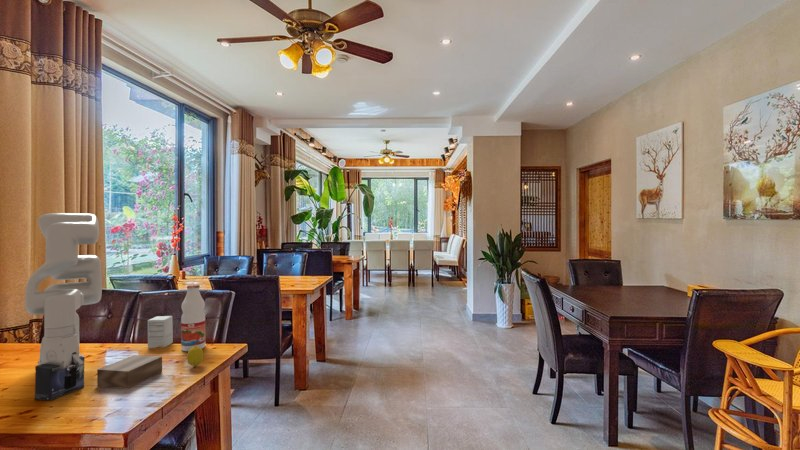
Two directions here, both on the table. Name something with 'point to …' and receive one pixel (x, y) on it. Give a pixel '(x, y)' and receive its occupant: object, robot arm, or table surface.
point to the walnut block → (129, 371)
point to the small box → (55, 381)
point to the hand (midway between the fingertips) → (60, 386)
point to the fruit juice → (193, 319)
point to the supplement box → (160, 331)
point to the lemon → (195, 356)
